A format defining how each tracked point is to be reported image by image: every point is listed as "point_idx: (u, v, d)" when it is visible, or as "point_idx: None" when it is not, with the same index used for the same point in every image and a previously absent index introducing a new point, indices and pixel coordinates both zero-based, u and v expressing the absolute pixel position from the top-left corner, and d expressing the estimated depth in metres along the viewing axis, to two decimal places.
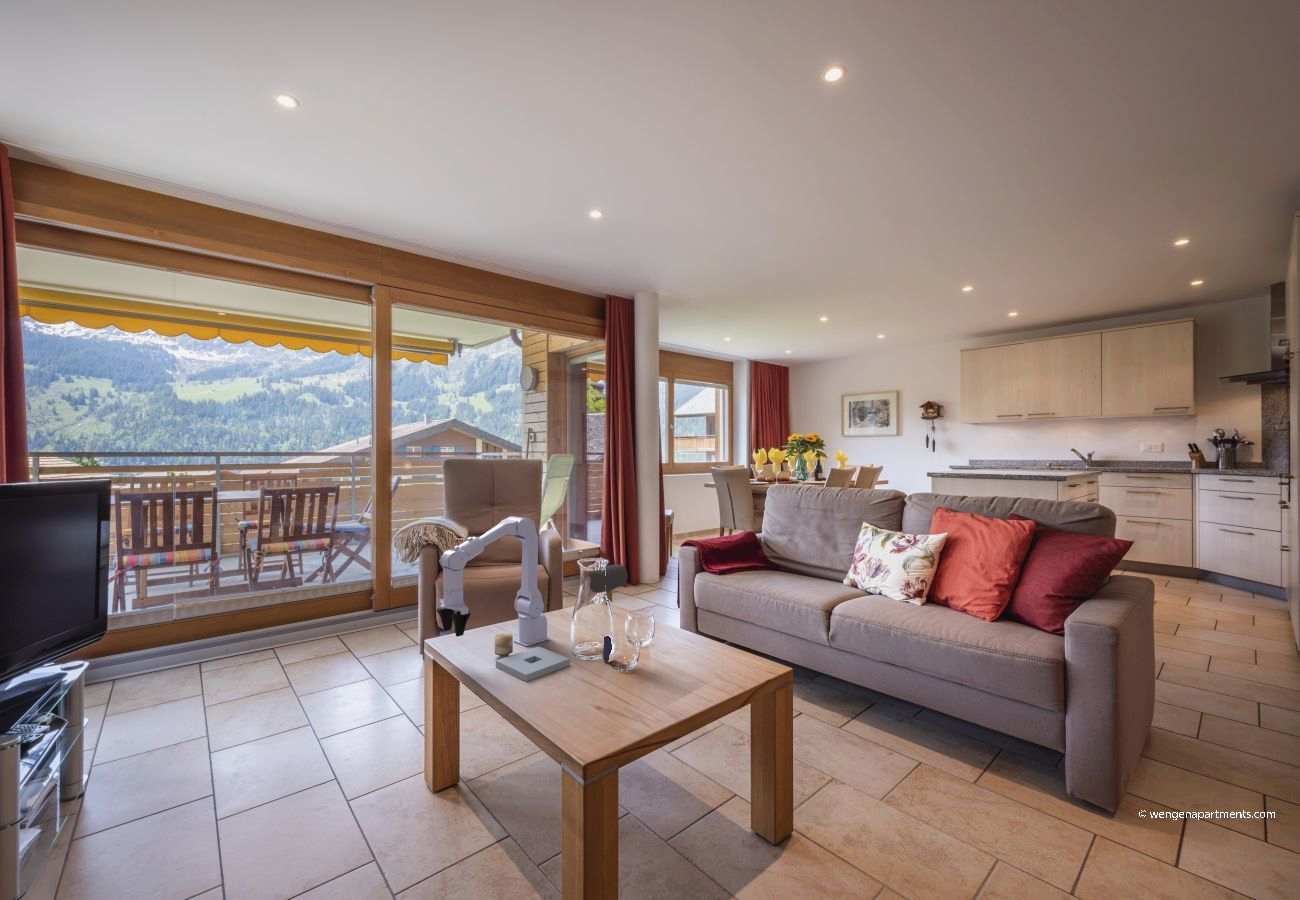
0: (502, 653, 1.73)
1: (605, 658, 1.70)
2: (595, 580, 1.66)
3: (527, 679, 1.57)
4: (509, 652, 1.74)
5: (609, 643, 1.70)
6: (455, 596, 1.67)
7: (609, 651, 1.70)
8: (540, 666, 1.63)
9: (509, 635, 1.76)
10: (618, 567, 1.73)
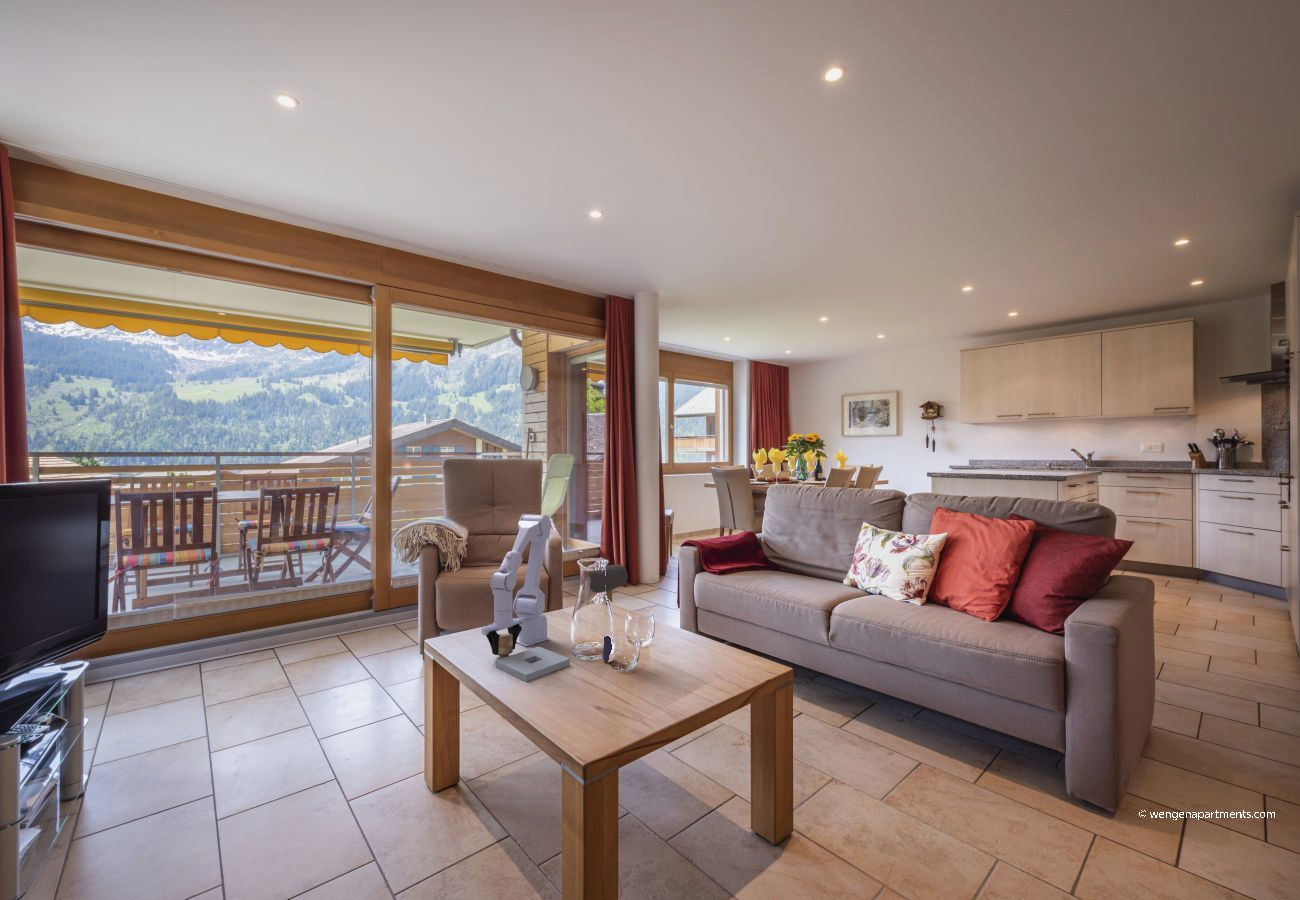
0: (502, 653, 1.73)
1: (605, 658, 1.70)
2: (595, 580, 1.66)
3: (527, 679, 1.57)
4: (509, 652, 1.74)
5: (609, 643, 1.70)
6: (494, 615, 1.74)
7: (609, 651, 1.70)
8: (540, 666, 1.63)
9: (509, 635, 1.76)
10: (618, 567, 1.73)
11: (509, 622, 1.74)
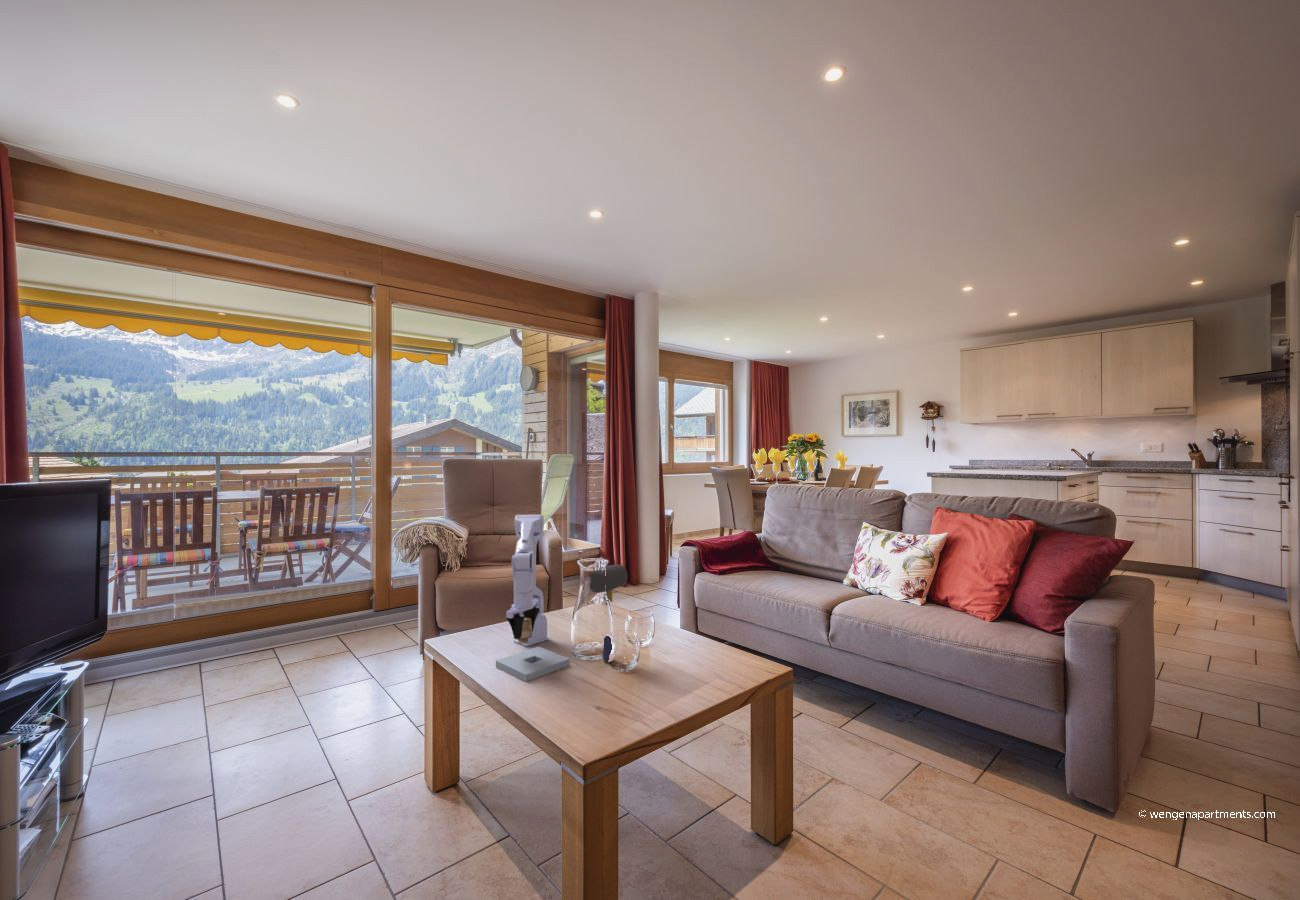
0: (524, 637, 1.68)
1: (605, 658, 1.70)
2: (595, 580, 1.66)
3: (527, 679, 1.57)
4: (530, 635, 1.70)
5: (609, 643, 1.70)
6: (516, 598, 1.68)
7: (609, 651, 1.70)
8: (540, 666, 1.63)
9: (527, 619, 1.72)
10: (618, 567, 1.73)
11: (531, 603, 1.70)
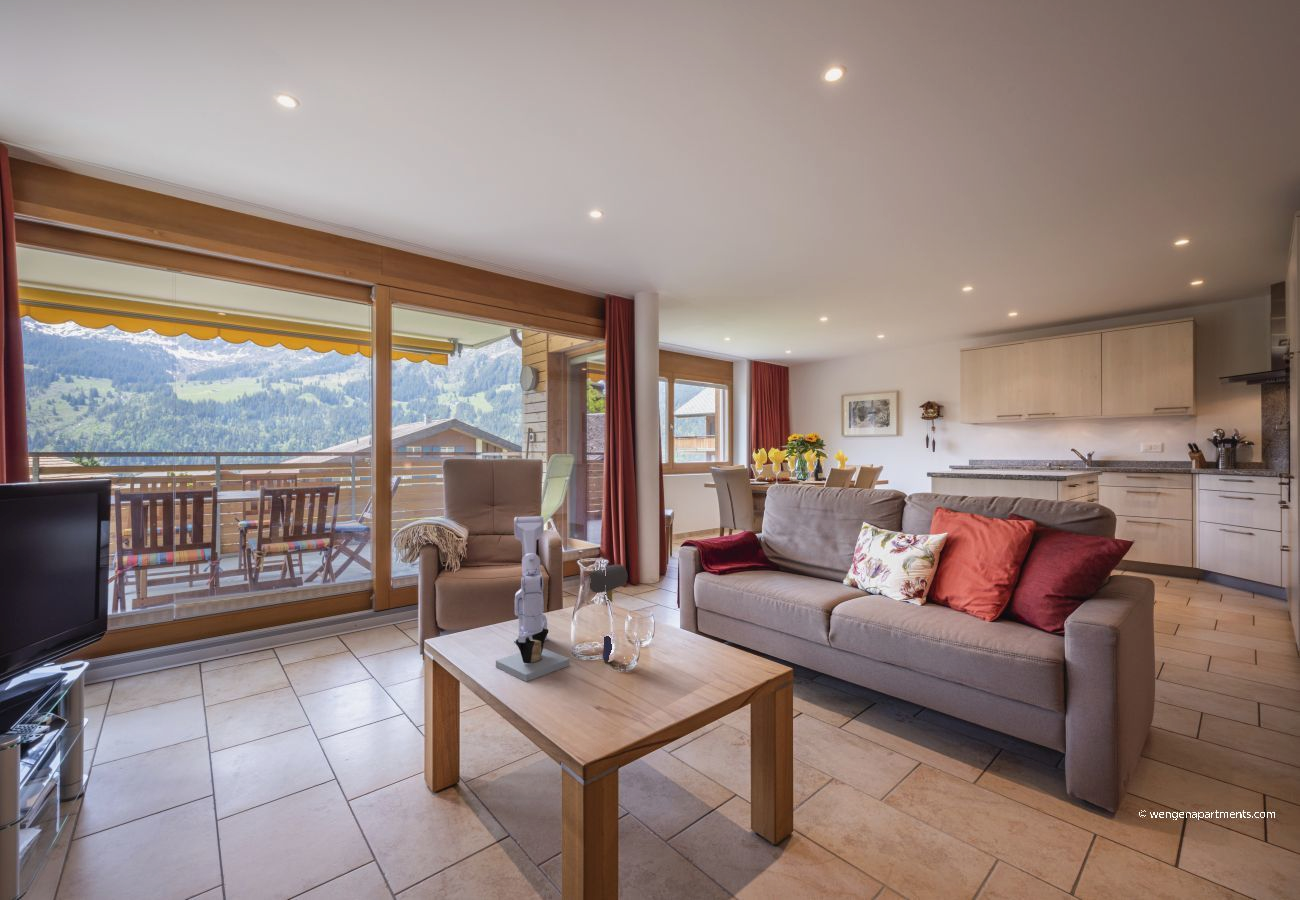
0: (535, 660, 1.66)
1: (605, 658, 1.70)
2: (595, 580, 1.66)
3: (527, 679, 1.57)
4: (540, 658, 1.68)
5: (609, 643, 1.70)
6: (526, 621, 1.66)
7: (609, 651, 1.70)
8: (540, 666, 1.63)
9: (536, 641, 1.70)
10: (618, 567, 1.73)
11: (541, 626, 1.68)
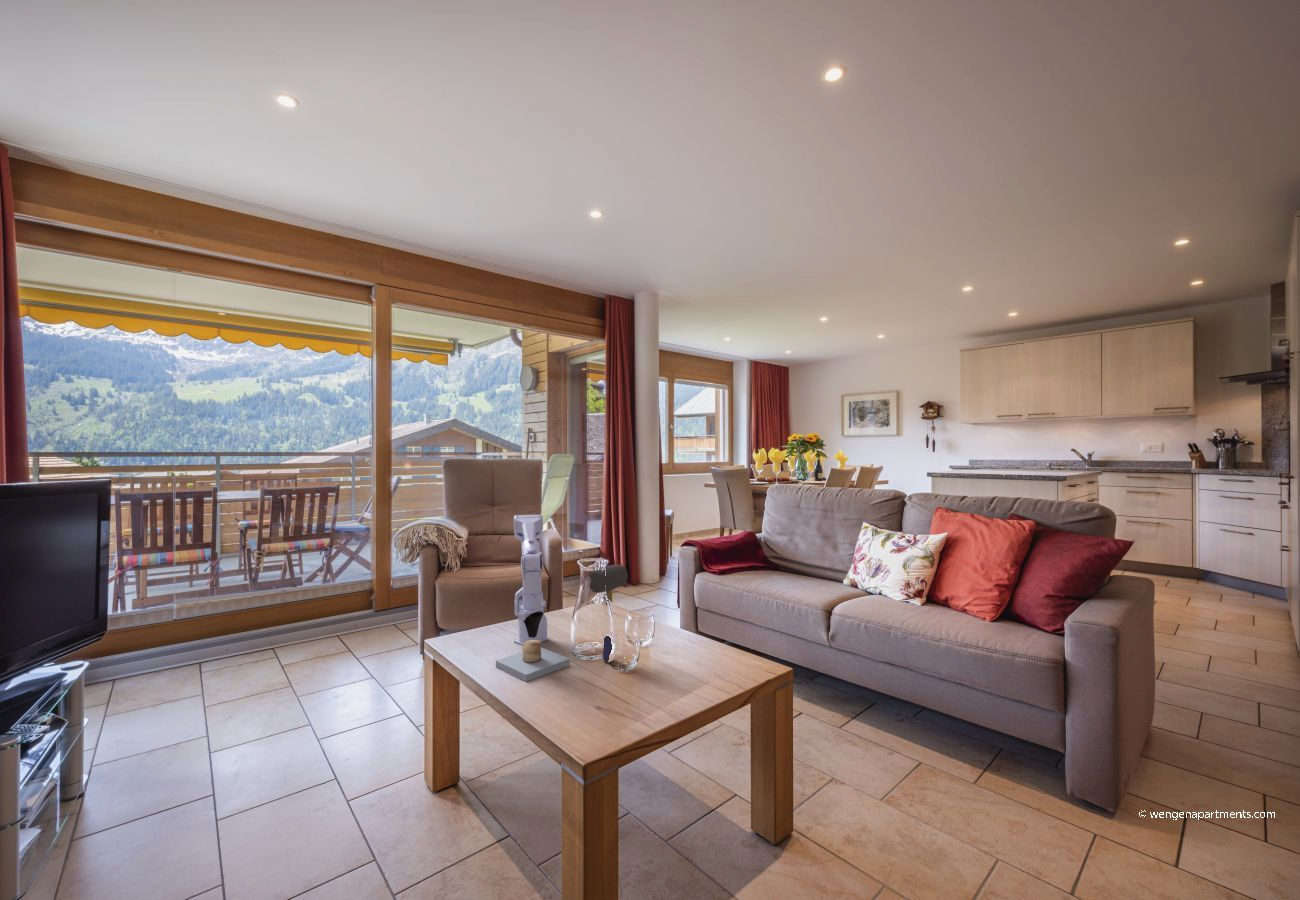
0: (535, 660, 1.66)
1: (605, 658, 1.70)
2: (595, 580, 1.66)
3: (527, 679, 1.57)
4: (540, 658, 1.68)
5: (609, 643, 1.70)
6: (526, 599, 1.66)
7: (609, 651, 1.70)
8: (540, 666, 1.63)
9: (536, 641, 1.70)
10: (618, 567, 1.73)
11: (541, 605, 1.68)
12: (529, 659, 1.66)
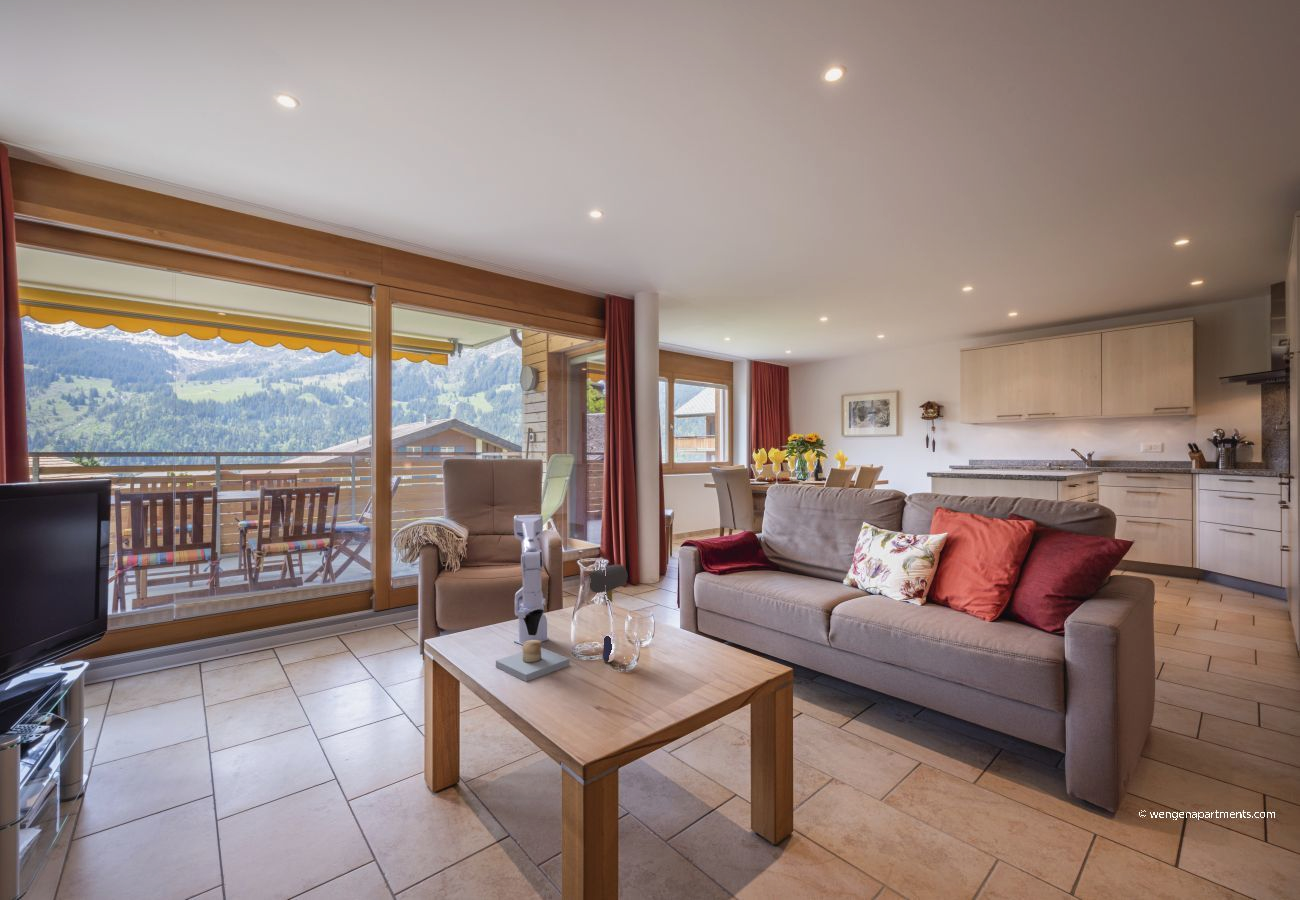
0: (535, 660, 1.66)
1: (605, 658, 1.70)
2: (595, 580, 1.66)
3: (527, 679, 1.57)
4: (540, 658, 1.68)
5: (609, 643, 1.70)
6: (526, 597, 1.66)
7: (609, 651, 1.70)
8: (540, 666, 1.63)
9: (536, 641, 1.70)
10: (618, 567, 1.73)
11: (541, 603, 1.68)
12: (529, 659, 1.66)
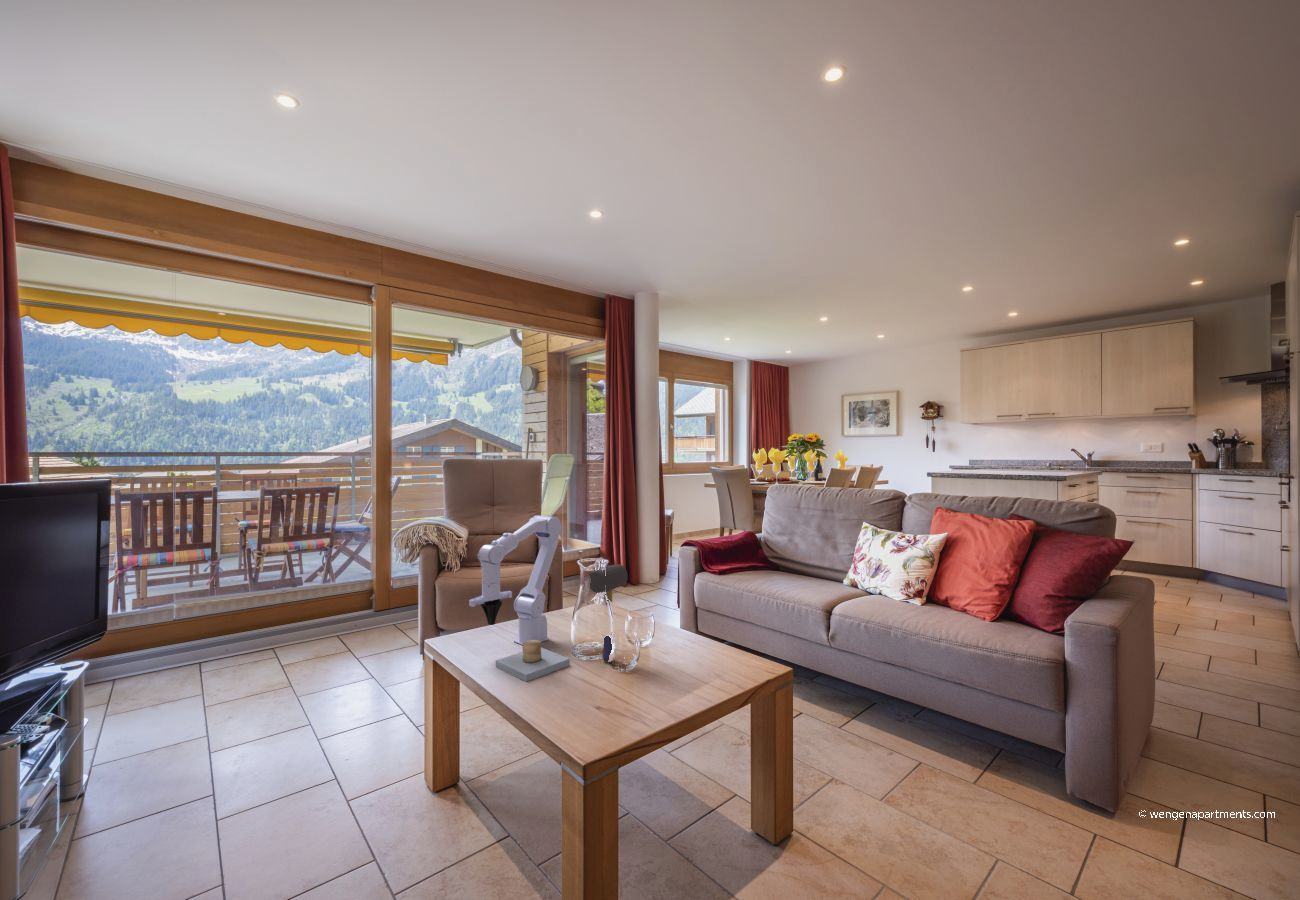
0: (535, 660, 1.66)
1: (605, 658, 1.70)
2: (595, 580, 1.66)
3: (527, 679, 1.57)
4: (540, 658, 1.68)
5: (609, 643, 1.70)
6: (482, 588, 1.75)
7: (609, 651, 1.70)
8: (540, 666, 1.63)
9: (536, 641, 1.70)
10: (618, 567, 1.73)
11: (496, 595, 1.75)
12: (529, 659, 1.66)
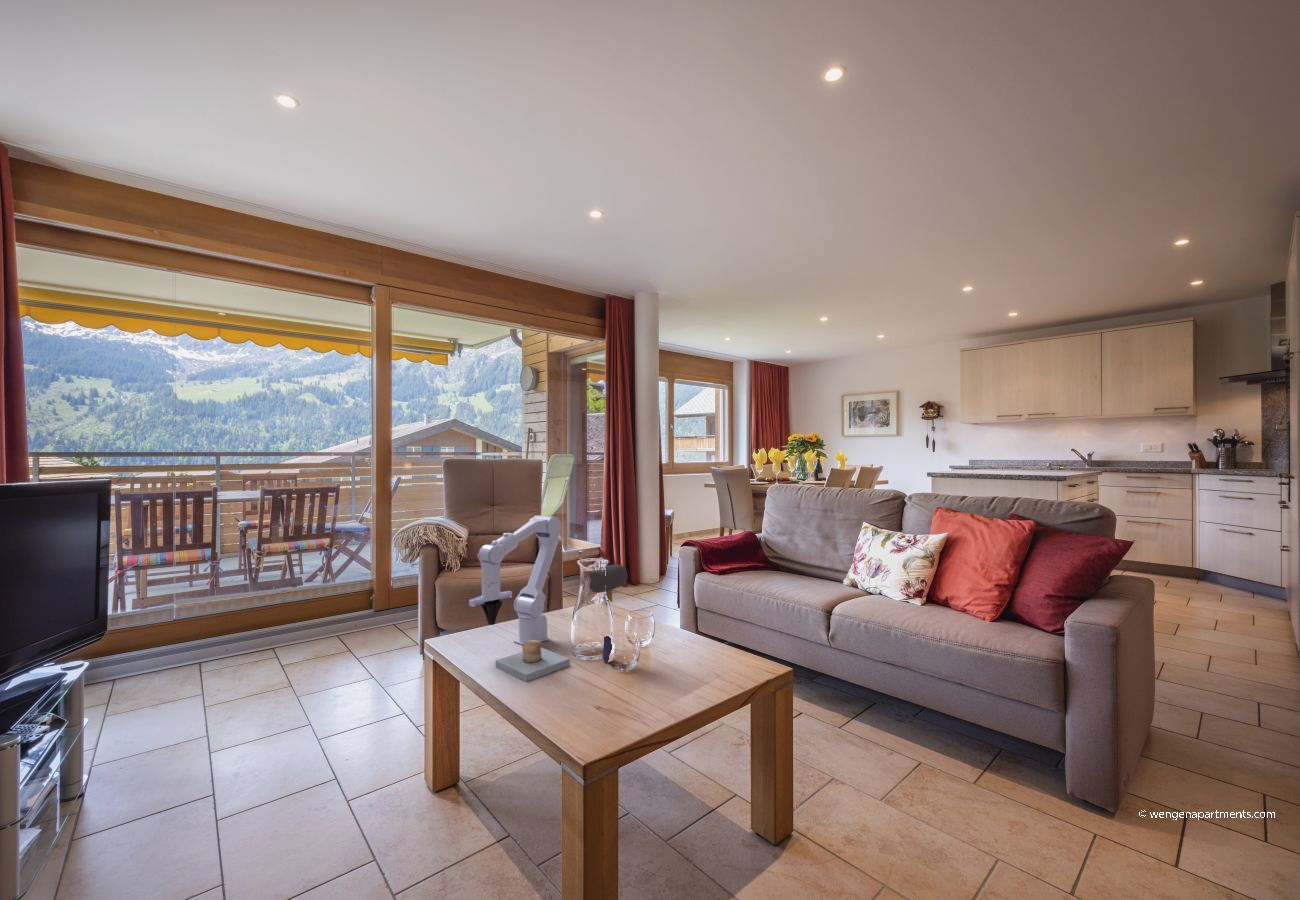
0: (535, 660, 1.66)
1: (605, 658, 1.70)
2: (595, 580, 1.66)
3: (527, 679, 1.57)
4: (540, 658, 1.68)
5: (609, 643, 1.70)
6: (482, 588, 1.75)
7: (609, 651, 1.70)
8: (540, 666, 1.63)
9: (536, 641, 1.70)
10: (618, 567, 1.73)
11: (496, 595, 1.75)
12: (529, 659, 1.66)
